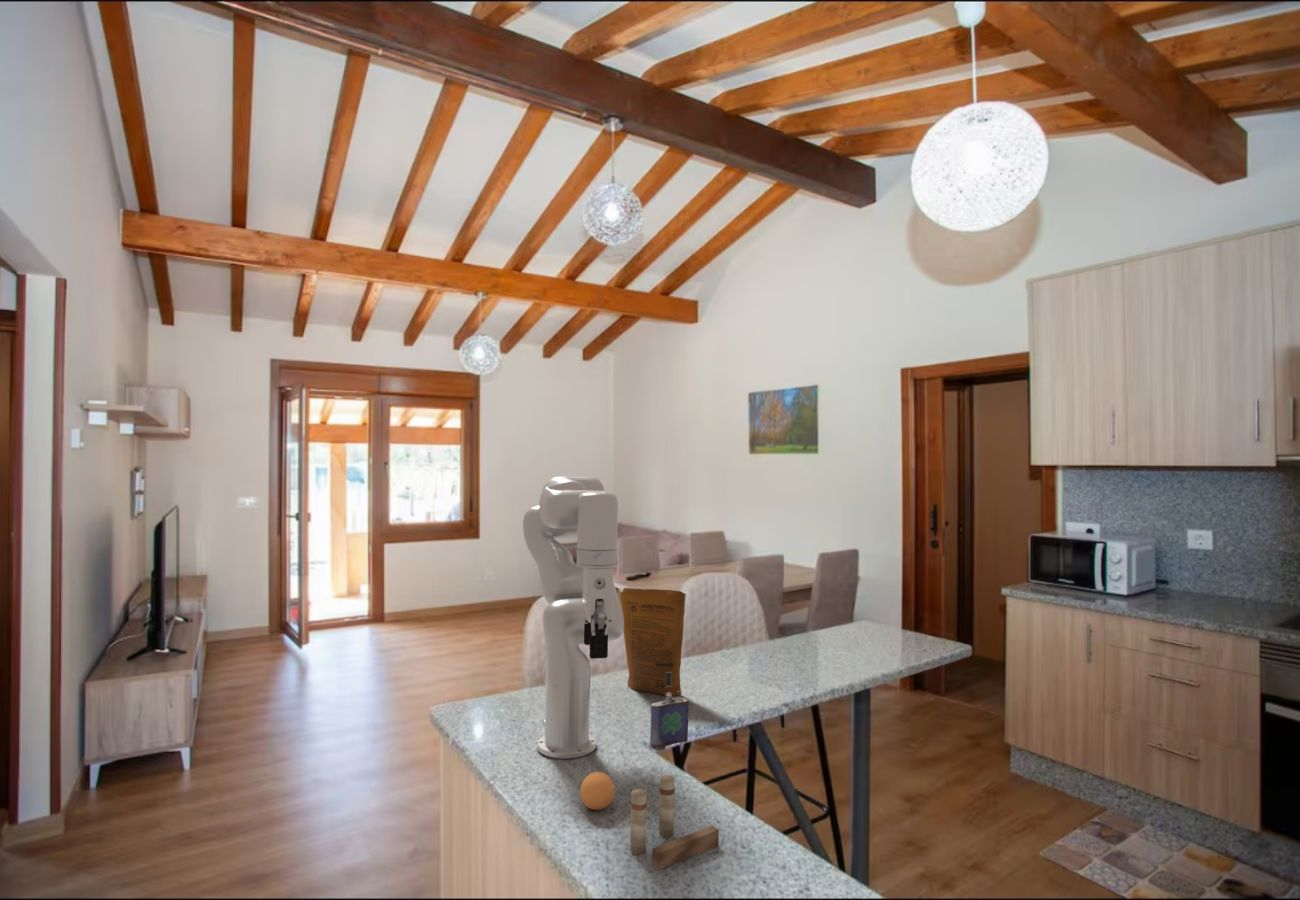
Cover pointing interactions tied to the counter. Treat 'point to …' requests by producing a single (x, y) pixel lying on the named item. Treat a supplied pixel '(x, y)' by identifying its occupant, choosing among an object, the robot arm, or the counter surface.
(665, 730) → the flask
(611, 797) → the ball
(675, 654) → the pancake mix bag
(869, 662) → the counter surface
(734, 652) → the counter surface
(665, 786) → the pin
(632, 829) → the pin side
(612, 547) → the robot arm
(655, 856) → the back rail
